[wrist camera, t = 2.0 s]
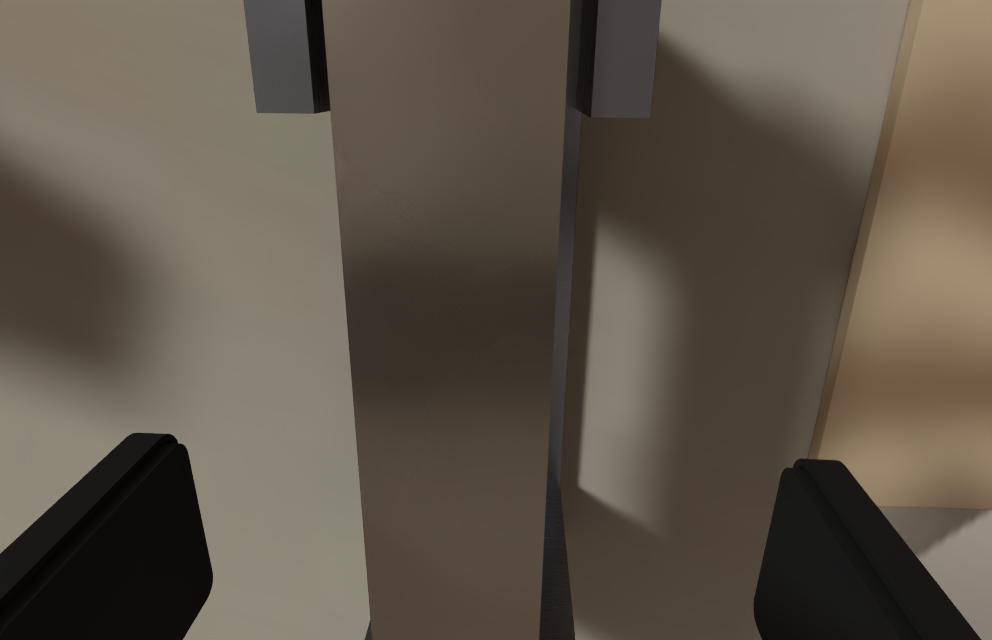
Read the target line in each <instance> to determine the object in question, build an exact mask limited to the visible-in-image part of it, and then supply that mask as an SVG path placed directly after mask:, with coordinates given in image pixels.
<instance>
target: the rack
mask: <svg viewBox="0 0 992 640" xmlns="http://www.w3.org/2000/svg"><path fill="white" fill-rule="evenodd" d="M243 1H244V9H245V17H246V26H247V34H248V43H249V51H250V59H251V68H252V76H253V85H254V93H255V101H256V110H257V113H309V114H315V113H320V112H326V111H331V110H330V97H329V84H328V72H327V59H326V46H325V34H324V21H323V8H322V0H243ZM660 11H661V0H571V1H570V21H569V42H568V62H567V82H566V103H565V123H564V143H563V164H562V184H561V204H560V225H559V245H558V266H557V286H556V306H555V327H554V347H553V367H552V388H551V408H550V428H549V449H548V469H547V489H546V510H545V530H544V550H543V571H542V591H541V612H540V632H539V640H575V632H574V622H573V612H572V602H571V593H570V583H569V573H568V563H567V553H566V543H565V533H564V523H563V514H562V504H561V494H560V478H561V461H562V444H563V427H564V409H565V392H566V375H567V358H568V341H569V324H570V306H571V289H572V272H573V255H574V238H575V221H576V204H577V186H578V169H579V152H580V135H581V118H582V113H584V114H585V115H587V116H589V117H591V118H650V115H651V105H652V94H653V84H654V73H655V63H656V52H657V42H658V32H659V21H660ZM365 640H372V631H371V619H370V623H369V626H368V630H367V634H366V637H365Z"/></svg>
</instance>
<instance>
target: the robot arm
mask: <svg viewBox="0 0 992 640" xmlns="http://www.w3.org/2000/svg"><path fill="white" fill-rule="evenodd" d="M212 583H213V572H212V567H211V562H210V558H209V553H208V548H207V543H206V538H205V533H204V528H203V523H202V519H201V514H200V509H199V504H198V499H197V494H196V489H195V484H194V479H193V475H192V470H191V465H190V460H189V455H188V451H187V448H186V447H185V446H184V445H183V444H178V441H177V439H176V438H175V437H174V436H173V435H171V434H154V433H133V434H131V435H129V436H128V437H126V438H125V439H124V440H123V441H122V442H121V443H120V444H119V445H118V446H117V447H116V448H114V449H113V450H112V451H111V452H110V453H109V454H108V455H107V456H106V457H105V458H104V459H103V460H101V461H100V462H99V463H98V464H97V465H96V466H95V467H94V468H93V469H92V470H91V471H90V472H88V473H87V474H86V475H85V476H84V477H83V478H82V479H81V480H80V481H79V482H78V483H77V484H75V485H74V486H73V487H72V488H71V489H70V490H69V491H68V492H67V493H66V494H65V495H64V496H62V497H61V498H60V499H59V500H58V501H57V502H56V503H55V504H54V505H53V506H52V507H51V508H49V509H48V510H47V511H46V512H45V513H44V514H43V515H42V516H41V517H40V518H39V519H37V520H36V521H35V522H34V523H33V524H32V525H31V526H30V527H29V528H28V529H27V530H26V531H24V532H23V533H22V534H21V535H20V536H19V537H18V538H17V539H16V540H15V541H14V542H13V543H11V544H10V545H9V546H8V547H7V548H6V549H5V550H4V551H3V552H2V553H1V554H0V640H183V638H184V637H185V635H186V633H187V632H188V630H189V628H190V627H191V625H192V623H193V622H194V620H195V618H196V617H197V615H198V613H199V612H200V610H201V609H202V607H203V605H204V604H205V602H206V600H207V598H208V596H209V594H210V591H211V588H212ZM754 617H755V622H756V625H757V628H758V630H759V633H760V635H761V638H762V640H981V639H980V637H979V636H978V635H977V634H976V632H975V631H974V630H973V628H972V627H971V626H970V625H969V623H968V622H967V621H966V620H965V618H964V617H963V616H962V614H961V613H960V612H959V611H958V609H957V608H956V607H955V605H954V604H953V603H952V602H951V600H950V599H949V598H948V596H947V595H946V594H945V593H944V591H943V590H942V589H941V588H940V586H939V585H938V584H937V582H936V581H935V580H934V579H933V577H932V576H931V575H930V573H929V572H928V571H927V570H926V568H925V567H924V566H923V564H922V563H921V562H920V561H919V559H918V558H917V557H916V556H915V554H914V553H913V552H912V550H911V549H910V548H909V547H908V545H907V544H906V543H905V541H904V540H903V539H902V538H901V536H900V535H899V534H898V532H897V531H896V530H895V529H894V527H893V526H892V525H891V524H890V522H889V521H888V520H887V518H886V517H885V516H884V515H883V513H882V512H881V511H880V509H879V508H878V507H877V506H876V504H875V503H874V502H873V501H872V499H871V498H870V497H869V495H868V494H867V493H866V492H865V490H864V489H863V488H862V486H861V485H860V484H859V483H858V481H857V480H856V479H855V478H854V476H853V475H852V474H851V472H850V471H849V470H848V469H847V467H846V466H845V465H844V464H843V463H842V462H841V461H838V460H823V459H799V460H797V461H796V462H795V464H794V466H793V468H785V469H784V470H783V472H782V475H781V479H780V483H779V488H778V492H777V497H776V502H775V506H774V511H773V515H772V520H771V524H770V529H769V534H768V538H767V543H766V547H765V552H764V556H763V561H762V565H761V570H760V575H759V579H758V584H757V588H756V593H755V597H754Z"/></svg>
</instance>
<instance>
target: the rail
mask: <svg viewBox="0 0 992 640" xmlns="http://www.w3.org/2000/svg"><path fill="white" fill-rule="evenodd" d="M570 1H571V0H322V8H323V21H324V34H325V46H326V59H327V72H328V84H329V97H330V110H331V123H332V135H333V148H334V161H335V173H336V186H337V199H338V212H339V224H340V237H341V250H342V262H343V275H344V288H345V300H346V313H347V326H348V339H349V351H350V364H351V377H352V389H353V402H354V415H355V428H356V440H357V453H358V466H359V478H360V491H361V504H362V516H363V529H364V542H365V555H366V567H367V580H368V593H369V605H370V618H371V631H372V640H539V632H540V612H541V591H542V571H543V550H544V530H545V510H546V489H547V469H548V449H549V428H550V408H551V388H552V367H553V347H554V327H555V306H556V286H557V266H558V245H559V225H560V204H561V184H562V164H563V143H564V123H565V103H566V82H567V62H568V42H569V21H570Z"/></svg>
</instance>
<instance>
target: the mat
mask: <svg viewBox="0 0 992 640" xmlns="http://www.w3.org/2000/svg"><path fill="white" fill-rule="evenodd" d="M808 459H823V460H838V461H841V462H842V463H843V464H844V465H845V466H846V467H847V469H848V470H849V471H850V472H851V474H852V475H853V476H854V478H855V479H856V480H857V481H858V483H859V484H860V485H861V486H862V488H863V489H864V490H865V492H866V493H867V494H868V495H869V497H870V498H871V499H872V501H873V502H874V503H875V504H876V506H892V507H925V508H958V509H990V510H992V0H911V2H910V6H909V11H908V15H907V20H906V24H905V29H904V33H903V38H902V42H901V46H900V51H899V55H898V60H897V64H896V69H895V73H894V78H893V82H892V87H891V91H890V96H889V100H888V104H887V109H886V113H885V118H884V122H883V127H882V131H881V136H880V140H879V145H878V149H877V154H876V158H875V162H874V167H873V171H872V176H871V180H870V185H869V189H868V194H867V198H866V203H865V207H864V212H863V216H862V220H861V225H860V229H859V234H858V238H857V243H856V247H855V252H854V256H853V261H852V265H851V270H850V274H849V279H848V283H847V287H846V292H845V296H844V301H843V305H842V310H841V314H840V319H839V323H838V328H837V332H836V337H835V341H834V345H833V350H832V354H831V359H830V363H829V368H828V372H827V377H826V381H825V386H824V390H823V395H822V399H821V403H820V408H819V412H818V417H817V421H816V426H815V430H814V435H813V439H812V444H811V448H810V453H809V457H808Z"/></svg>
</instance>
